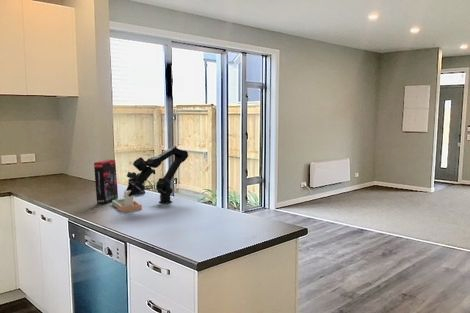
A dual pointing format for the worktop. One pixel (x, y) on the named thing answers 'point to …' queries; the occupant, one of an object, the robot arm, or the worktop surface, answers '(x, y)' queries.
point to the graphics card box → (105, 181)
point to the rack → (121, 206)
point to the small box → (141, 190)
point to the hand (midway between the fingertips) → (126, 194)
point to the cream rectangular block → (128, 198)
